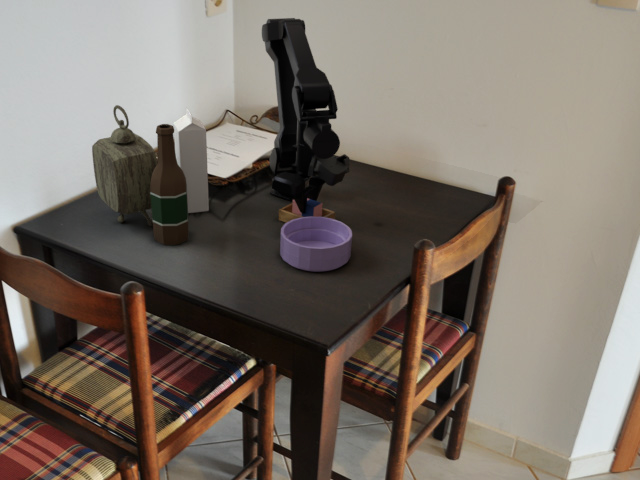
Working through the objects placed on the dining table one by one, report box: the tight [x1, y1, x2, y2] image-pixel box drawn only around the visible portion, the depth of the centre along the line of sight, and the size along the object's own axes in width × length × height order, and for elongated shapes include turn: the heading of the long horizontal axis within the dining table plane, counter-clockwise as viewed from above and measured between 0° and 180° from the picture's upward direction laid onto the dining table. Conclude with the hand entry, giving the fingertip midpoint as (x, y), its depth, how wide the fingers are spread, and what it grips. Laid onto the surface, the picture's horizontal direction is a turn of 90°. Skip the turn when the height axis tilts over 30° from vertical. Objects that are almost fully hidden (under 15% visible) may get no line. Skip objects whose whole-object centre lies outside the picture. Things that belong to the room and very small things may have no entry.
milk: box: [173, 107, 210, 214], centre depth 166 cm, size 6×6×22 cm
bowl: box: [279, 216, 353, 273], centre depth 153 cm, size 14×14×6 cm
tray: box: [278, 202, 336, 223], centre depth 167 cm, size 10×7×2 cm
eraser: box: [292, 198, 324, 217], centre depth 166 cm, size 6×3×3 cm, turn 52°
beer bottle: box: [150, 123, 190, 246], centre depth 153 cm, size 8×8×24 cm
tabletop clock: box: [91, 104, 158, 227], centre depth 159 cm, size 14×9×25 cm, turn 33°
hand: (307, 210), depth 166 cm, fingers closed on eraser, 3 cm apart
